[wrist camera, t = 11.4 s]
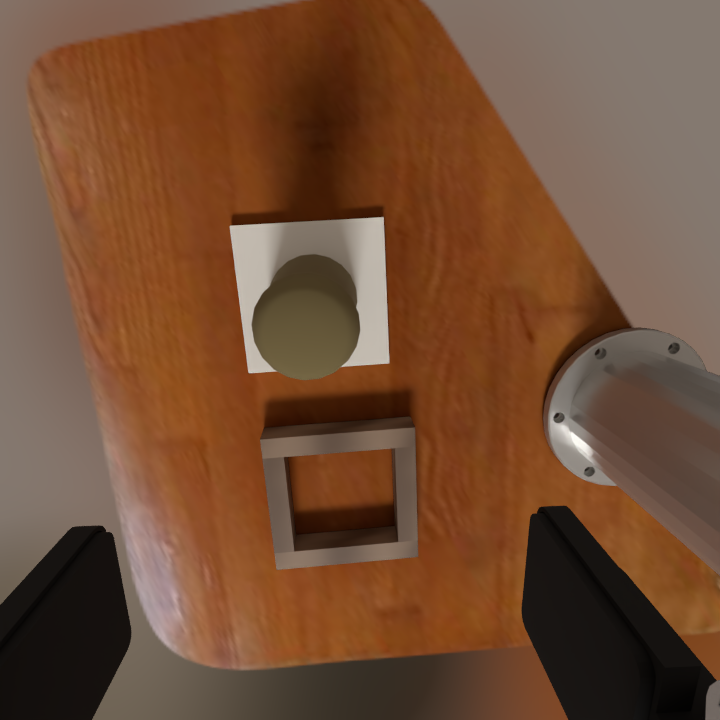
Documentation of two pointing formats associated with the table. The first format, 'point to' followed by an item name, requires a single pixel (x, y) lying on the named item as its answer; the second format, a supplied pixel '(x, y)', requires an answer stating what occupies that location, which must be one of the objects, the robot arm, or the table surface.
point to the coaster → (326, 238)
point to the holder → (349, 542)
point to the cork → (307, 318)
